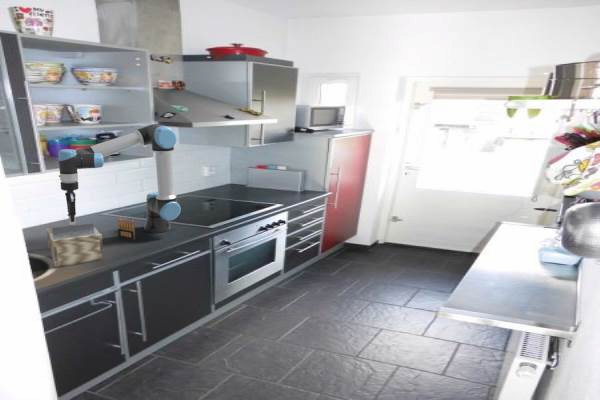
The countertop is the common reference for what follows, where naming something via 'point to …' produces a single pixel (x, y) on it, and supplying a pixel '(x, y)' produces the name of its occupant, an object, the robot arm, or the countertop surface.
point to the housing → (75, 250)
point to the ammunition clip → (126, 229)
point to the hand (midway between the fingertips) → (72, 227)
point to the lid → (73, 231)
